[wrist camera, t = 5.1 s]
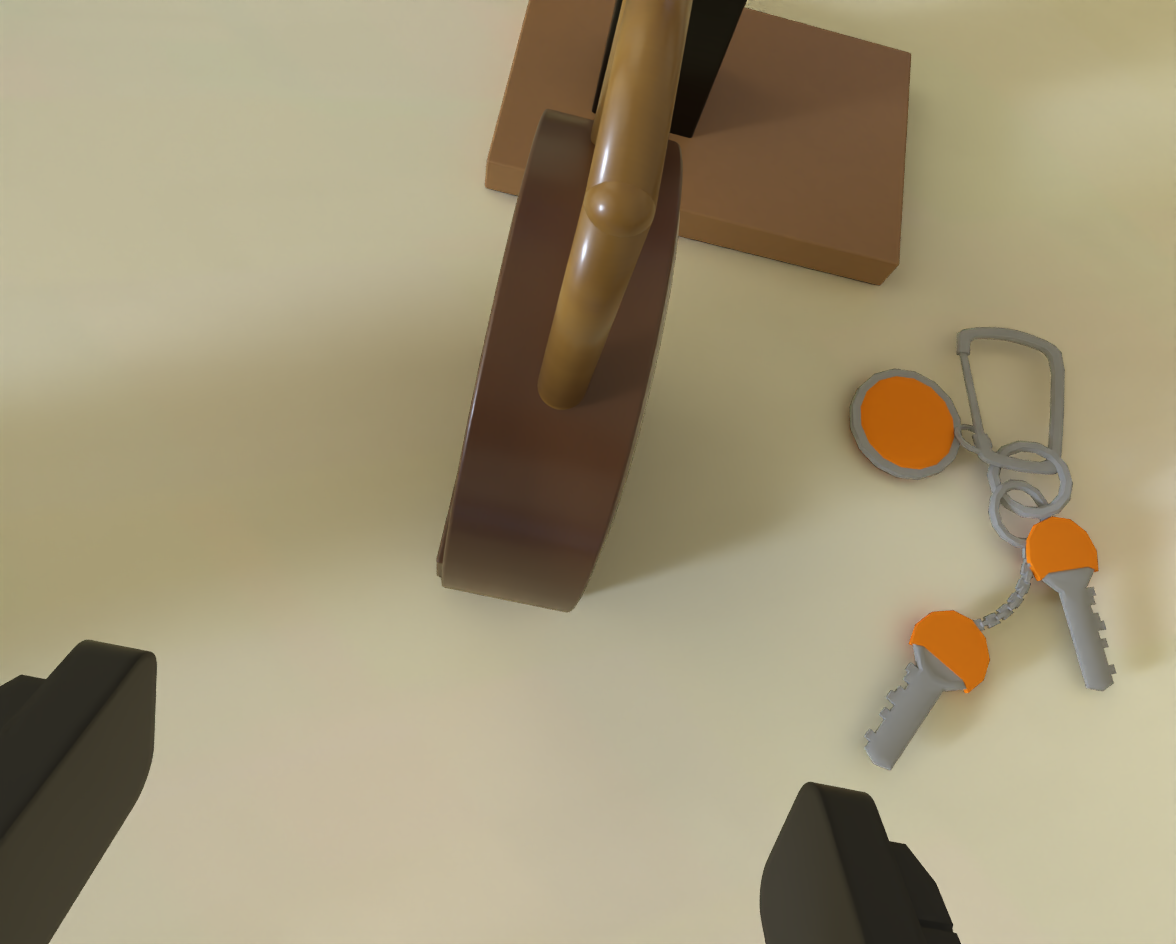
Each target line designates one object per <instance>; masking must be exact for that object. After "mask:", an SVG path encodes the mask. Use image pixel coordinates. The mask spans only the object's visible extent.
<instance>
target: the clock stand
mask: <svg viewBox="0 0 1176 944" xmlns="http://www.w3.org/2000/svg"><path fill="white" fill-rule="evenodd" d="M622 1H623V0H529V2H528V6H527V10H526V14H525V18H524V21H523V25H522V29H521V33H520V37H519V40H518V44H517V48H516V52H515V56H514V59H513V63H512V67H511V71H510V75H509V78H508V82H507V86H506V90H505V94H504V97H503V101H502V105H501V109H500V113H499V116H498V120H497V124H496V128H495V131H494V135H493V139H492V143H491V147H490V150H489V154H488V158H487V164H486V177H485V187H486V188H489V189H493V190H497V191H501V192H505V193H509V194H513V195H517V196H518V195H519V191H520V187H521V183H522V179H523V175H524V172H525V168H526V164H527V160H528V157H529V153H530V150H531V146H532V142H533V139H534V136H535V133H536V129H537V126H538V123H539V121H540V118H541V116H542V114H543V112H544V110H545V109H552V110H556V111H560V112H563V113H567V114H571V115H575V116H579V117H583V118H587V119H590V120H594V119H595V114H596V110H597V106H598V102H599V98H600V93H601V89H602V85H603V81H604V77H605V73H606V68H607V64H608V60H609V56H610V52H611V47H612V43H613V39H614V35H615V31H616V26H617V22H618V18H619V14H620V10H621V6H622ZM746 1H747V0H693V2H692V8H691V13H690V19H689V25H688V30H687V36H686V42H685V47H684V53H683V59H682V64H681V70H680V76H679V81H678V87H677V93H676V99H675V104H674V110H673V116H672V121H671V127H670V133H669V138H668V140H671V141H675V142H677V143H678V144H679V145H680V148H681V152H682V161H683V180H682V193H681V204H680V220H679V233H678V236H682V237H686V238H690V239H694V240H698V241H702V242H706V243H710V244H714V245H718V246H722V247H726V248H730V249H734V250H738V251H742V252H746V253H750V254H754V255H758V256H762V257H766V258H770V259H775V260H779V261H783V262H787V263H791V264H795V265H799V266H803V267H807V268H811V269H815V270H819V271H823V272H827V273H831V274H835V275H839V276H843V277H847V278H851V279H855V280H859V281H863V282H867V283H871V284H875V285H881V284H882V283H883V282H884V281H885V280H886V278H887V277H888V276H889V275H890V274H891V273H892V272H893V271H894V270H895V269H896V267H897V266H898V265H899V256H900V239H901V222H902V204H903V187H904V170H905V153H906V136H907V118H908V101H909V84H910V67H911V53H908V52H905V51H901V50H898V49H894V48H890V47H887V46H883V45H879V44H876V43H872V42H868V41H865V40H861V39H858V38H854V37H850V36H847V35H843V34H839V33H836V32H832V31H828V30H825V29H821V28H818V27H814V26H810V25H807V24H803V23H799V22H796V21H792V20H788V19H785V18H781V17H778V16H774V15H770V14H767V13H763V12H759V11H756V10H752V9H748V8H745V7H744V6H745V4H746Z"/></svg>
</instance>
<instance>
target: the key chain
mask: <svg viewBox="0 0 1176 944" xmlns="http://www.w3.org/2000/svg"><path fill="white" fill-rule="evenodd" d="M975 339H996V340H1005V341H1010V342H1014V343H1018V344H1022V345H1025V346H1028V347H1031V348H1034V349H1036V350H1039V351H1041V352H1042V353H1043V354H1044V355H1045V356H1046V357H1047V358H1048V361H1049V367H1050V372H1051V399H1050V424H1049V442H1048V448H1047V447H1045V446H1043V445H1042V444H1040V443H1037V442H1027V441H1016V442H1013V443H1010V444H1007V445H1004V446H1002V447H1001V448H1000V449H999V450H998V451H997V452H994V451H993V450H992V442H991V440H990V438H989V437H988V435H987V434H985V433H984V431H983V426H982V421H981V417H980V412H979V407H978V403H977V398H976V393H975V389H974V384H973V379H972V375H971V370H970V365H969V361H968V355H970V342H971V341H973V340H975ZM957 355H959V356H960V360H961V365H962V370H963V375H964V381H965V386H966V391H967V396H968V401H969V406H970V412H971V417H972V422H973V426H971V425H966V424H962V425H961V421H960V417H959V415H958V413H957V411H956V408H955V406H954V404H953V402H952V400H951V398H950V397H949V396H948V395H947V394H946V393H945V392H944V391H943V390H942V389H941V388H940V387H939V386H938V385H937V384H936V383H935V382H934V381H932V380H930V379H928V378H926V377H924V376H923V375H921V374H919V373H917V372H914V371H907V370H900V369H891V370H887V371H883V372H880V373H876V374H874V375H873V376H872V377H871V378H869V379H868V380H867V381H866V382H865V383H864V384H862V385H861V386H860V387H859V388H858V389H857V391H856V393H855V396H854V398H853V400H852V403H851V405H850V428H851V431H852V433H853V435H854V438H855V440H856V442H857V445H858V447H859V449H860V450H861V451H862V452H863V453H864V454H865V456H866V457H867V458H868V459H869V460H870V461H871V462H872V463H873V464H874V465H875V466H876V467H878V468H880V469H882V470H884V471H885V472H887V473H889V474H891V475H893V476H895V477H899V478H907V479H916V480H919V479H922V478H925V477H929V476H932V475H935V474H938V473H940V472H941V471H942V470H943V469H944V468H946V467H947V466H948V465H949V464H950V463H951V462H952V461H953V460H954V459H955V458H956V455H957V452H958V449H959V446H960V444H961V445H962V446H963V447H964V448H966V449H967V450H969V451H971V452H974V453H976V454H978V457H979V458H980V459H981V460H982V461H983V462H985V463H988V464H989V468H988V472H987V477H988V481H989V484H990V488H991V491H992V493H993V494H992V495H991V497H990V503H989V511H988V513H989V516H990V520H991V523H992V527H993V528H994V529H995V531H996V532H997V533H998V535H999V536H1000V537H1001V539H1003V540H1005V541H1006V542H1008V543H1010V544H1011V545H1013V546H1015V547H1017V548H1022V558H1023V564H1022V566H1021V572H1020V574H1021V578H1020V579H1019V580H1018V582H1017V584H1016V587H1015V589H1016V591H1015V592H1014V593H1012V594H1011V596H1010V597H1009V598H1008V600H1007V601H1008V603H1007V604H1003V605H1002V606H1001V607H1000V608H998V609H997V610H996V611H997V614H995V613H992V614H989V615H987V616H985V617H983V619H984V621H981V619H977V620H971V619H969V618H967V617H965V616H963V615H961V614H959V613H957V612H955V611H954V610H952V611H937V612H931V613H929V614H928V615H927V616H926V617H924V618H923V619H922V620H921V621H919V622H918V623H917V624H916V625H915V627H914V630H913V633H912V636H911V639H910V642H909V644H910V645H913V650H914V656H915V662H916V666H915V665H914V664H913V663H909V664H908V666H907V667H906V669H905V670H906V671H907V672H908V673H907V674H906V676H905V677H904V678H903V680H904V681H906V682H907V683H908V684H907V686H906V687H905V689H903V688H902V687H901V686H898V687H897V689H896V690H895V692H894V691H892V690H891V691H890V692H889V693H888V695H887V696H886V698H887V699H888V700H889V701H890V702H891V703H892V704H893V707H892V708H891V709H890V711H889V710H888V709H887V708H886V707H884V708H883V709H882V711H881V712H880V714H879V715H880V716H881V717H882V718H883V719H884V720H883V721H882V723H881V724H880V726H879V727H878V729H877V730H876V732H874V731H873V730H871V729H869V730H868V731H867V733H866V734H865V735H864V737H865V738H866V739H867V740H869V742H868V743H867V745H866V746H865V748H864V749H865V751H866V752H867V754H868V756H869V757H870V759H871V761H872V762H873V764H875V765H877V766H880V767H882V768H885V769H887V770H891V769H892V768H893V766H894V765H895V763H896V762H897V760H898V759H899V757H900V756H901V754H902V753H903V751H904V750H905V748H906V747H907V745H908V744H909V742H910V741H911V739H912V738H913V736H914V734H915V733H916V731H917V730H918V728H919V727H920V725H921V724H922V722H923V721H924V719H925V718H926V716H927V715H928V713H929V712H930V710H931V709H932V707H933V706H934V704H935V703H936V701H937V700H938V698H939V697H940V695H941V694H942V692H943V691H953V690H964V692H965V693H969V692H970V691H971V690H972V689H974V688H975V687H976V686H977V685H978V684H980V683H981V682H982V681H983V680H984V677H985V674H986V671H987V668H988V664H989V661H990V658H989V653H988V648H987V643H986V638H985V637H984V635H983V634H982V632H981V630H985V629H984V626H986V625H987V627H988V628H991V627H993V626H995V625H997V624H999V623H1001V622H1000V621H999V620H1000V619H1001V618H1002V620H1005V619H1007V618H1008V617H1009V616H1010V615H1011V614H1012V613H1014V612H1013V611H1012V610H1013V609H1014V608H1015V609H1016V608H1018V607H1019V606H1020V604H1021V603H1022V601H1023V600H1024V599H1023V596H1024V595H1025V594H1027V592H1028V590H1029V587H1030V585H1031V583H1030V580H1031V578H1033V575H1034V577H1035V578H1036V580H1037V581H1040V580H1042V581H1043V582H1044V583H1046V584H1047V585H1048V586H1050V587H1051V588H1052V589H1053V590H1055V591H1056V592H1058V593H1059V596H1060V599H1061V603H1062V606H1063V610H1064V613H1065V616H1066V620H1067V623H1068V627H1069V630H1070V634H1071V637H1072V640H1073V644H1074V647H1075V651H1076V654H1077V658H1078V661H1079V665H1080V668H1081V671H1082V675H1083V678H1084V682H1085V685H1086V688H1088V689H1093V690H1098V691H1104V690H1105V689H1106V688H1108V687H1109V686H1111V685H1112V684H1113V683H1114V682H1113V679H1112V676H1111V674H1115V673H1116V671H1115V667H1114V664H1113V665H1108V662H1107V659H1106V655H1105V652H1104V649H1103V648H1106V647H1108V644H1107V641H1106V638H1105V639H1100V635H1099V632H1098V631H1100V630H1105V629H1106V627H1105V623H1104V621H1100V617H1099V614H1098V613H1093V612H1092V608H1091V605H1094V604H1095V601H1094V597H1093V596H1095V595H1096V593H1095V590H1094V587H1090V588H1086V587H1087V585H1088V583H1089V581H1090V579H1091V577H1092V574H1093V572H1096V571H1098V561H1097V550H1096V548H1095V547H1094V545H1093V543H1092V541H1091V539H1090V537H1089V536H1088V534H1087V532H1086V531H1085V530H1083V529H1082V528H1081V527H1080V526H1078V525H1077V524H1076V523H1074V522H1073V521H1072V520H1071V519H1065V518H1059V517H1053V516H1052V515H1055V514H1057V513H1059V512H1060V511H1061V510H1062V509H1063V508H1064V506H1065V505H1066V504H1067V503H1068V502H1069V501H1070V497H1071V492H1072V486H1073V482H1072V478H1071V475H1070V472H1069V469H1068V466H1067V464H1066V463H1065V462H1064V461H1063V460H1062V459H1061V453H1062V436H1063V418H1064V373H1065V370H1064V364H1063V359H1062V353H1061V351H1060V350H1059V349H1058V348H1057V347H1056V346H1054V345H1053V344H1051V343H1049V342H1048V341H1045V340H1043V339H1041V338H1038V337H1036V336H1033V335H1030V334H1028V333H1024V332H1021V331H1017V330H1012V329H1006V328H995V327H981V328H970V329H964V330H962V331H960V332H959V333H957ZM961 430H968V431H971V432H973V433H975V434H973V436H972V438H973V441H974V444H975V446H972V445H971V444H969V443H968V442H966V441H965V440H964V438H963V437H962V434H961ZM1019 452H1031V453H1036V454H1038V455H1040V456H1042V457H1044V458H1046V460H1045V461H1042V462H1036V461H1029V460H1022V459H1017V458H1012V457H1009V456H1010V455H1013V454H1016V453H1019ZM1001 468H1005V469H1010V470H1015V471H1020V472H1027V473H1035V474H1056V473H1058V476H1059V479H1060V488H1059V493H1058V495H1057V496H1056V497H1055V499H1054V500H1053V501H1052V502H1051V503H1050V504H1048V503H1047V501H1046V499H1045V498H1044V497H1043V495H1042V494H1041V493H1040V491H1039V490H1038V489H1036V488H1035V487H1033V486H1032V485H1030V484H1028V483H1027V482H1025V481H1019V480H1008V481H1006V482H1004V483H1002V484H1001V481H1000V477H999V475H1000V470H1001ZM1013 489H1015V490H1022V491H1024V492H1026V493H1027V494H1029V495H1030V496H1031V497H1032V499H1033V500H1034V502H1035V503H1036V504H1037V507H1028V506H1023V505H1021V504H1020V503H1018V502H1016V501H1014V500H1012V499H1011V498H1010V497H1009V495H1008V494H1007V493H1006V492H1008V491H1010V490H1013ZM1000 503H1001V504H1002V505H1003V506H1004V508H1006V509H1008V510H1010V511H1012V512H1014V513H1015V514H1017V515H1019V516H1021V517H1026V518H1036V519H1040V522H1039V523H1037V524H1035V525H1033V527H1032V529H1031V531H1030V533H1029V535H1028V537H1027V538H1017V537H1015V536H1014V535H1012V534H1010V533H1009V531H1008V530H1007V529H1006V527H1005V526H1004V525H1003V523H1002V520H1001V517H1000V513H999V505H1000ZM1051 516H1052V517H1051Z"/></svg>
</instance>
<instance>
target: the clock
mask: <svg viewBox="0 0 1176 944" xmlns="http://www.w3.org/2000/svg"><path fill="white" fill-rule="evenodd" d="M692 2H693V0H623V1H622V6H621V10H620V14H619V18H618V22H617V26H616V31H615V35H614V39H613V43H612V47H611V52H610V56H609V60H608V64H607V68H606V73H605V77H604V81H603V85H602V89H601V93H600V98H599V102H598V106H597V110H596V114H595V119H594V120H590V119H587V118H583V117H579V116H575V115H571V114H567V113H563V112H560V111H556V110H552V109H545V110H544V112H543V114H542V116H541V118H540V121H539V123H538V126H537V129H536V133H535V136H534V139H533V142H532V146H531V150H530V153H529V157H528V160H527V164H526V168H525V172H524V175H523V179H522V183H521V187H520V191H519V195H518V199H517V203H516V207H515V211H514V215H513V219H512V223H511V227H510V231H509V236H508V240H507V244H506V248H505V252H504V257H503V261H502V265H501V270H500V274H499V278H498V283H497V287H496V291H495V296H494V300H493V305H492V309H491V314H490V318H489V323H488V327H487V332H486V336H485V341H484V346H483V350H482V355H481V360H480V364H479V369H478V374H477V379H476V383H475V388H474V393H473V398H472V403H471V407H470V412H469V417H468V422H467V427H466V432H465V437H464V442H463V447H462V453H461V458H460V463H459V468H458V473H457V477H456V481H455V485H454V489H453V493H452V498H451V502H450V506H449V510H448V514H447V518H446V522H445V527H444V531H443V535H442V539H441V543H440V547H439V551H438V556H437V576H439V577H441V580H442V586H443V587H445V588H450V589H455V590H459V591H464V592H469V593H474V594H479V595H484V596H489V597H494V598H498V599H503V600H508V601H513V602H518V603H523V604H528V605H533V606H537V607H542V608H547V609H552V610H557V611H562V612H570V611H572V610H573V609H574V608H575V606H576V605H577V603H578V602H579V600H580V599H581V597H582V595H583V593H584V591H585V589H586V587H587V585H588V582H589V580H590V577H591V575H592V573H593V570H594V568H595V565H596V562H597V560H598V557H599V555H600V553H601V551H602V549H603V546H604V544H605V541H606V539H607V536H608V534H609V531H610V528H611V525H612V523H613V520H614V517H615V514H616V511H617V508H618V505H619V502H620V499H621V496H622V493H623V489H624V486H625V483H626V479H627V476H628V473H629V469H630V466H631V462H632V459H633V455H634V452H635V448H636V444H637V441H638V437H639V433H640V429H641V425H642V422H643V418H644V414H645V410H646V406H647V402H648V397H649V393H650V389H651V385H652V380H653V376H654V372H655V367H656V363H657V358H658V353H659V349H660V344H661V339H662V334H663V329H664V324H665V319H666V314H667V308H668V303H669V297H670V291H671V285H672V279H673V272H674V266H675V259H676V251H677V242H678V233H679V220H680V204H681V193H682V180H683V161H682V152H681V148H680V145H679V144H678V143H677V142H675V141H671V140H668V138H669V133H670V127H671V121H672V116H673V110H674V104H675V99H676V93H677V87H678V81H679V76H680V70H681V64H682V59H683V53H684V47H685V42H686V36H687V30H688V25H689V19H690V13H691V8H692Z"/></svg>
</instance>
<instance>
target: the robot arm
mask: <svg viewBox="0 0 1176 944" xmlns="http://www.w3.org/2000/svg"><path fill="white" fill-rule="evenodd" d="M156 676H157V662H156V657H155V655H154V653H152V652H149V651H144V650H139V649H134V648H129V647H124V646H119V645H113V644H108V643H103V642H98V641H93V640H84V641H82V642H80V643H79V644H78V645H77V646H76V647H74V648H73V650H72V651H71V652H70V653H69V654H68V655H67V656H66V657H65V659H64V660H63V661H62V662H61V663H60V664H59V665H58V666H57V668H56V669H55V670H54V671H53V672H52V673H51V674H50V675H49V677H48V678H47V679H41V678H36V677H31V676H25V675H20V676H18V677H16V678H14V679H13V680H11V681H9V682H7V683H5V684H4V685H2V686H0V944H48V943H49V942H50V940H51V939H52V937H53V935H54V934H55V932H56V931H57V929H58V927H59V926H60V924H61V923H62V921H63V919H64V918H65V916H66V915H67V913H68V911H69V910H70V908H71V906H72V905H73V903H74V902H75V900H76V898H77V897H78V895H79V894H80V892H81V890H82V889H83V887H84V886H85V884H86V882H87V881H88V879H89V877H90V876H91V874H92V873H93V871H94V869H95V868H96V866H97V865H98V863H99V861H100V860H101V858H102V857H103V855H104V853H105V852H106V850H107V848H108V847H109V845H110V844H111V842H112V840H113V839H114V837H115V836H116V834H117V832H118V831H119V829H120V828H121V826H122V824H123V823H124V821H125V819H126V818H127V816H128V815H129V813H130V811H131V810H132V808H133V807H134V805H135V803H136V801H137V800H138V798H139V796H140V794H141V791H142V789H143V787H144V784H145V782H146V779H147V776H148V773H149V770H150V766H151V762H152V758H153V751H154V732H155V704H156ZM760 915H761V921H762V927H763V932H764V937H765V943H766V944H961V943H960V940H959V938H958V936H957V933H953V930H952V927H953V923H952V921H951V918H950V916H949V914H948V911H947V909H946V906H945V904H944V901H943V899H942V896H941V894H940V892H939V889H938V887H937V884H936V882H935V881H934V880H933V879H932V877H931V876H930V875H929V873H928V872H927V871H926V870H925V868H924V867H923V866H922V865H921V863H920V862H919V861H918V859H917V858H916V857H915V856H914V854H913V853H912V852H911V851H910V849H909V848H908V847H907V845H906V844H902V843H896V842H891V841H889V840H888V837H887V834H886V831H885V829H884V826H883V823H882V821H881V818H880V815H879V813H878V810H877V807H876V805H875V803H874V800H873V799H872V797H871V796H870V795H869V794H867V793H865V792H860V791H855V790H850V789H845V788H840V787H834V786H829V785H824V784H819V783H814V782H808V783H806V784H804V785H803V786H802V788H801V789H800V791H799V793H798V795H797V797H796V799H795V801H794V803H793V806H792V808H791V810H790V812H789V814H788V816H787V818H786V821H785V823H784V825H783V827H782V829H781V831H780V834H779V836H778V838H777V840H776V842H775V844H774V847H773V849H772V851H771V853H770V855H769V857H768V860H767V862H766V864H765V867H764V871H763V875H762V880H761V887H760Z"/></svg>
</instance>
